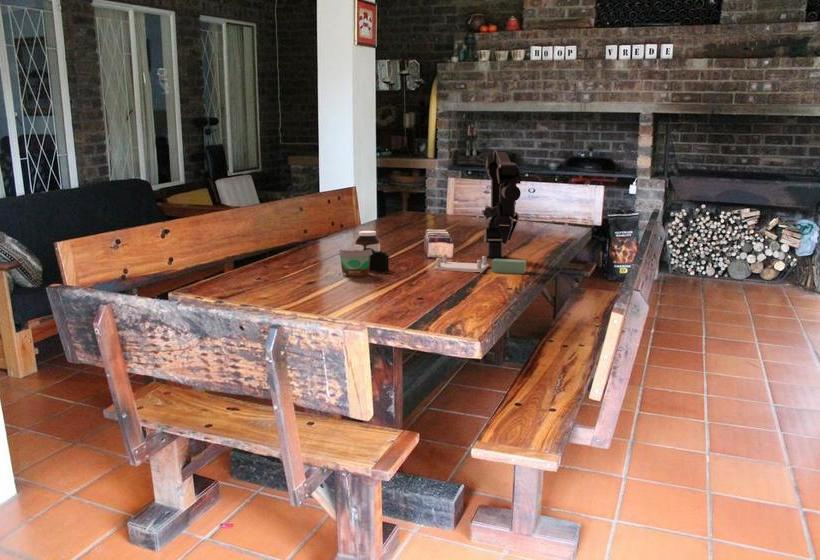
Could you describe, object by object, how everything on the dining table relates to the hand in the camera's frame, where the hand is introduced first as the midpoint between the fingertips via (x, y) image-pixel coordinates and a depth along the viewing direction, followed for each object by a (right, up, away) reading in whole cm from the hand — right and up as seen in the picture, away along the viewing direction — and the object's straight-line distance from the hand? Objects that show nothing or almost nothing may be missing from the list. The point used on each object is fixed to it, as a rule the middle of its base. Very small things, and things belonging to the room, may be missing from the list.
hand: (506, 241), depth 269 cm
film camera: (-50, -11, +7) cm, 51 cm away
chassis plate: (-16, -10, +8) cm, 20 cm away
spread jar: (-54, -6, +29) cm, 61 cm away
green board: (+1, -11, +2) cm, 11 cm away
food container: (-54, -13, -7) cm, 57 cm away
